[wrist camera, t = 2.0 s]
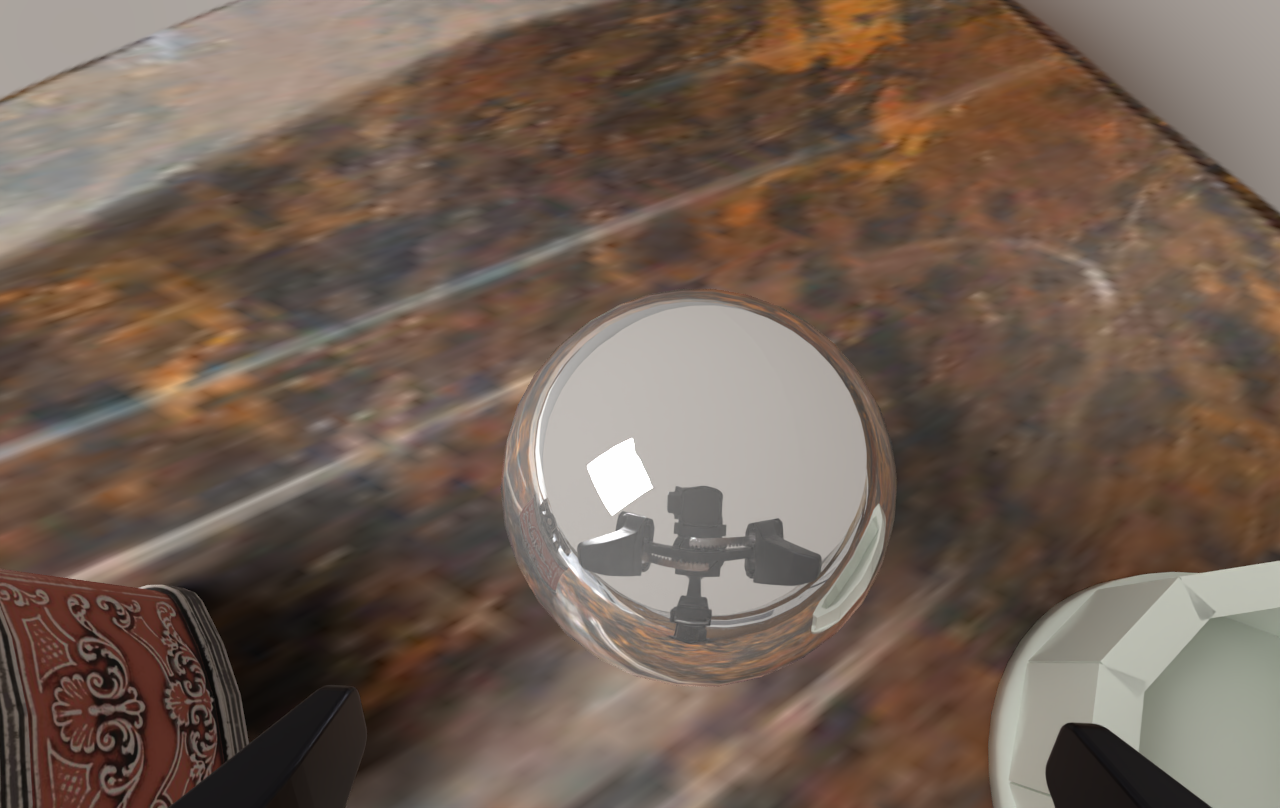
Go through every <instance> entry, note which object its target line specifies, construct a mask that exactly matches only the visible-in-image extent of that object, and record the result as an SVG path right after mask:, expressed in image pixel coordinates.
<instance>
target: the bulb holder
mask: <svg viewBox="0 0 1280 808" xmlns="http://www.w3.org/2000/svg"><path fill="white" fill-rule="evenodd" d="M1070 722H1074V723H1093V724H1098V725H1102V726H1104V727H1105V728H1107V729H1109V730H1110V731H1111V732H1113V733H1114V734H1115V735H1117V736H1118V737H1119V738H1121V739H1122V740H1123V741H1125V742H1126V743H1127V744H1129V745H1130V746H1131V747H1133V748H1134V749H1135V750H1137V751H1138V752H1139V753H1141V754H1142V755H1143V756H1145V757H1146V758H1147V759H1149V760H1150V761H1151V762H1152V763H1154V764H1155V765H1156V766H1158V767H1159V768H1160V769H1162V770H1163V771H1164V772H1166V773H1167V774H1168V775H1170V776H1171V777H1172V778H1174V779H1175V780H1176V781H1178V782H1179V783H1180V784H1182V785H1183V786H1184V787H1186V788H1187V789H1188V790H1190V791H1191V792H1192V793H1194V794H1195V795H1196V796H1197V797H1199V798H1200V799H1201V800H1203V801H1204V802H1205V803H1207V804H1208V805H1209V806H1211V807H1212V808H1280V561H1274V562H1268V563H1262V564H1255V565H1249V566H1243V567H1236V568H1230V569H1223V570H1217V571H1211V572H1204V573H1186V572H1165V573H1153V574H1144V575H1138V576H1132V577H1126V578H1121V579H1116V580H1112V581H1108V582H1104V583H1099V584H1096V585H1094V586H1091V587H1089V588H1086V589H1084V590H1081V591H1079V592H1076V593H1074V594H1073V595H1071V596H1069V597H1068V598H1066V599H1065V600H1063V601H1061V602H1060V603H1058V604H1056V605H1055V606H1054V607H1052V608H1051V609H1050V610H1049V611H1048V612H1047V613H1045V614H1044V615H1043V616H1042V617H1041V618H1040V619H1038V620H1037V621H1036V622H1035V624H1034V625H1033V626H1032V627H1031V628H1030V630H1029V631H1028V632H1027V633H1026V634H1025V636H1024V637H1023V638H1022V639H1021V641H1020V642H1019V644H1018V646H1017V647H1016V649H1015V651H1014V652H1013V654H1012V656H1011V657H1010V659H1009V661H1008V663H1007V665H1006V668H1005V670H1004V673H1003V675H1002V678H1001V680H1000V683H999V685H998V689H997V693H996V697H995V701H994V705H993V709H992V713H991V722H990V731H989V740H988V760H989V780H990V788H991V795H992V803H993V808H1055V806H1054V803H1053V800H1052V798H1051V795H1050V792H1049V790H1048V786H1047V782H1046V776H1045V770H1046V764H1047V761H1048V758H1049V756H1050V753H1051V751H1052V748H1053V746H1054V743H1055V741H1056V738H1057V736H1058V733H1059V731H1060V729H1061V727H1062V726H1063V725H1065V724H1066V723H1070Z"/></svg>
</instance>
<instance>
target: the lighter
mask: <svg viewBox="0 0 1280 808" xmlns="http://www.w3.org/2000/svg"><path fill="white" fill-rule="evenodd" d="M248 744H249V741H248V735H247V729H246V723H245V717H244V711H243V706H242V700H241V694H240V691H239V688H238V685H237V682H236V679H235V676H234V673H233V670H232V667H231V664H230V661H229V658H228V655H227V652H226V649H225V646H224V643H223V641H222V639H221V637H220V635H219V633H218V631H217V629H216V627H215V625H214V623H213V621H212V619H211V617H210V615H209V613H208V611H207V609H206V607H205V605H204V603H203V601H202V600H201V599H200V598H199V596H198V595H197V594H196V593H195V592H192V591H190V590H187V589H185V588H180V587H174V586H167V585H147V586H144V587H140V588H133V587H126V586H119V585H112V584H104V583H97V582H90V581H83V580H76V579H68V578H61V577H54V576H47V575H40V574H33V573H25V572H18V571H11V570H4V569H0V808H168V807H169V806H171V805H172V804H173V803H174V802H176V801H177V800H178V799H180V798H181V797H182V796H183V795H185V794H186V793H187V792H188V791H190V790H191V789H192V788H193V787H195V786H196V785H197V784H198V783H200V782H201V781H202V780H204V779H205V778H206V777H207V776H209V775H210V774H211V773H212V772H214V771H215V770H216V769H217V768H219V767H220V766H221V765H223V764H224V763H225V762H226V761H228V760H229V759H230V758H231V757H233V756H234V755H235V754H236V753H238V752H239V751H240V750H241V749H243V748H244V747H245V746H247V745H248Z"/></svg>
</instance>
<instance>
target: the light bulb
mask: <svg viewBox="0 0 1280 808" xmlns="http://www.w3.org/2000/svg"><path fill="white" fill-rule="evenodd" d="M896 491H897V475H896V468H895V461H894V454H893V447H892V442H891V439H890V436H889V433H888V430H887V428H886V425H885V422H884V419H883V416H882V413H881V410H880V408H879V406H878V405H877V403H876V401H875V399H874V398H873V396H872V394H871V392H870V391H869V389H868V387H867V386H866V384H865V382H864V380H863V379H862V377H861V375H860V374H859V372H858V371H857V369H856V368H855V367H854V366H853V365H852V364H851V362H850V361H849V360H848V359H847V358H846V357H845V356H844V354H843V353H842V352H841V351H840V350H839V349H838V347H837V346H836V345H835V344H834V343H833V342H832V341H830V340H829V339H828V338H827V337H825V336H824V335H823V334H822V333H821V332H819V331H818V330H817V329H816V328H814V327H813V326H812V325H811V324H809V323H808V322H806V321H805V320H803V319H801V318H799V317H798V316H796V315H794V314H792V313H790V312H789V311H787V310H785V309H783V308H781V307H780V306H777V305H774V304H772V303H769V302H766V301H763V300H760V299H758V298H755V297H752V296H749V295H745V294H739V293H734V292H728V291H722V290H717V289H679V290H673V291H667V292H661V293H655V294H649V295H646V296H644V297H641V298H638V299H635V300H632V301H629V302H626V303H624V304H621V305H618V306H616V307H615V308H613V309H611V310H609V311H608V312H606V313H604V314H602V315H601V316H599V317H597V318H595V319H594V320H592V321H590V322H588V323H587V324H585V325H584V326H582V327H581V328H580V329H579V330H577V331H576V332H575V333H574V334H573V335H571V336H570V337H569V338H568V339H567V340H565V341H564V342H563V343H562V344H561V345H559V346H558V347H557V348H556V349H555V350H554V352H553V353H552V354H551V355H550V356H549V358H548V359H547V360H546V361H545V363H544V364H543V365H542V366H541V367H540V369H539V370H538V371H537V372H536V374H535V375H534V377H533V379H532V380H531V382H530V384H529V386H528V388H527V390H526V392H525V393H524V395H523V397H522V399H521V401H520V403H519V404H518V407H517V410H516V413H515V417H514V420H513V423H512V427H511V430H510V433H509V436H508V440H507V443H506V447H505V450H504V460H503V470H502V480H501V495H502V504H503V514H504V524H505V528H506V531H507V534H508V537H509V541H510V544H511V547H512V550H513V553H514V556H515V560H516V563H517V564H518V566H519V568H520V570H521V572H522V573H523V575H524V577H525V579H526V580H527V582H528V584H529V586H530V588H531V589H532V591H533V593H534V595H535V596H536V598H537V600H538V602H539V603H540V605H541V606H542V607H543V608H544V609H545V611H546V612H547V613H548V614H549V615H550V616H551V617H552V619H553V620H554V621H555V622H556V623H557V624H558V625H559V627H560V628H561V629H562V630H563V631H564V632H565V634H566V635H568V636H569V637H570V638H572V639H573V640H574V641H576V642H577V643H578V644H580V645H581V646H582V647H584V648H585V649H586V650H588V651H589V652H590V653H592V654H593V655H594V656H596V657H597V658H598V659H600V660H602V661H604V662H607V663H609V664H611V665H613V666H615V667H617V668H619V669H621V670H624V671H626V672H628V673H630V674H632V675H634V676H637V677H641V678H645V679H649V680H654V681H658V682H662V683H667V684H671V685H675V686H717V687H718V686H723V685H728V684H733V683H738V682H743V681H748V680H753V679H758V678H760V677H763V676H765V675H767V674H769V673H772V672H774V671H776V670H778V669H781V668H783V667H785V666H787V665H790V664H792V663H794V662H796V661H798V660H800V659H802V658H803V657H805V656H806V655H807V654H809V653H810V652H811V651H813V650H814V649H816V648H817V647H818V646H820V645H821V644H822V643H824V642H825V641H826V640H828V639H829V638H830V637H832V636H833V635H834V634H836V633H837V632H838V631H839V629H840V628H841V627H842V626H843V625H844V624H845V622H846V621H847V620H848V619H849V618H850V617H851V615H852V614H853V613H854V612H855V611H856V610H857V609H858V607H859V606H860V605H861V604H862V603H863V601H864V599H865V597H866V595H867V594H868V592H869V590H870V588H871V586H872V584H873V582H874V581H875V579H876V577H877V575H878V573H879V571H880V569H881V568H882V564H883V561H884V557H885V554H886V550H887V547H888V543H889V540H890V536H891V533H892V529H893V524H894V519H895V506H896Z"/></svg>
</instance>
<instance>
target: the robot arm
mask: <svg viewBox="0 0 1280 808" xmlns="http://www.w3.org/2000/svg"><path fill="white" fill-rule="evenodd" d="M366 740H367V728H366V723H365V719H364V714H363V709H362V704H361V700H360V695H359V692H358V690H357V689H356V688H355V687H353V686H344V685H325V686H323V687H321V688H319V689H318V690H316V691H315V692H314V693H312V694H311V695H310V696H309V697H307V698H306V699H305V700H303V701H302V702H301V703H300V704H298V705H297V706H296V707H295V708H293V709H292V710H291V711H290V712H288V713H287V714H286V715H284V716H283V717H282V718H281V719H279V720H278V721H277V722H276V723H274V724H273V725H272V726H271V727H269V728H268V729H267V730H266V731H264V732H263V733H262V734H260V735H259V736H258V737H257V738H255V739H254V740H253V741H252V742H250V743H249V744H248V745H247V746H245V747H244V748H243V749H241V750H240V751H239V752H238V753H236V754H235V755H234V756H233V757H231V758H230V759H229V760H228V761H226V762H225V763H224V764H223V765H221V766H220V767H219V768H217V769H216V770H215V771H214V772H212V773H211V774H210V775H209V776H207V777H206V778H205V779H204V780H202V781H201V782H200V783H198V784H197V785H196V786H195V787H193V788H192V789H191V790H190V791H188V792H187V793H186V794H185V795H183V796H182V797H181V798H180V799H178V800H177V801H176V802H174V803H173V804H172V805H171V806H169V807H168V808H345V807H346V804H347V801H348V798H349V795H350V792H351V789H352V786H353V783H354V780H355V777H356V774H357V771H358V768H359V765H360V762H361V759H362V756H363V753H364V750H365V746H366ZM1045 776H1046V782H1047V786H1048V790H1049V792H1050V795H1051V798H1052V800H1053V803H1054V806H1055V808H1212V807H1211V806H1209V805H1208V804H1207V803H1205V802H1204V801H1203V800H1201V799H1200V798H1199V797H1197V796H1196V795H1195V794H1194V793H1192V792H1191V791H1190V790H1188V789H1187V788H1186V787H1184V786H1183V785H1182V784H1180V783H1179V782H1178V781H1176V780H1175V779H1174V778H1172V777H1171V776H1170V775H1168V774H1167V773H1166V772H1164V771H1163V770H1162V769H1160V768H1159V767H1158V766H1156V765H1155V764H1154V763H1152V762H1151V761H1150V760H1149V759H1147V758H1146V757H1145V756H1143V755H1142V754H1141V753H1139V752H1138V751H1137V750H1135V749H1134V748H1133V747H1131V746H1130V745H1129V744H1127V743H1126V742H1125V741H1123V740H1122V739H1121V738H1119V737H1118V736H1117V735H1115V734H1114V733H1113V732H1111V731H1110V730H1109V729H1107V728H1105V727H1104V726H1102V725H1098V724H1093V723H1074V722H1070V723H1066V724H1065V725H1063V726H1062V727H1061V729H1060V731H1059V733H1058V736H1057V738H1056V741H1055V743H1054V746H1053V748H1052V751H1051V753H1050V756H1049V758H1048V761H1047V764H1046V770H1045Z"/></svg>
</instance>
